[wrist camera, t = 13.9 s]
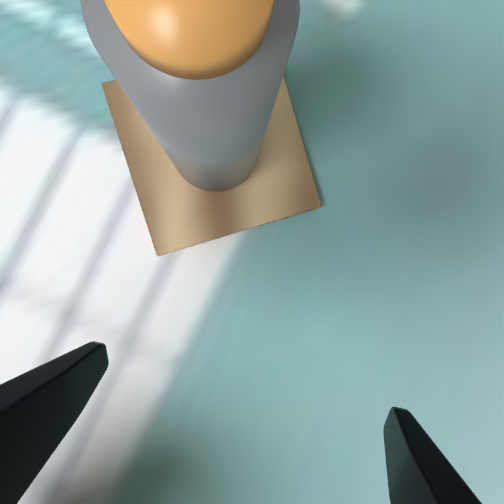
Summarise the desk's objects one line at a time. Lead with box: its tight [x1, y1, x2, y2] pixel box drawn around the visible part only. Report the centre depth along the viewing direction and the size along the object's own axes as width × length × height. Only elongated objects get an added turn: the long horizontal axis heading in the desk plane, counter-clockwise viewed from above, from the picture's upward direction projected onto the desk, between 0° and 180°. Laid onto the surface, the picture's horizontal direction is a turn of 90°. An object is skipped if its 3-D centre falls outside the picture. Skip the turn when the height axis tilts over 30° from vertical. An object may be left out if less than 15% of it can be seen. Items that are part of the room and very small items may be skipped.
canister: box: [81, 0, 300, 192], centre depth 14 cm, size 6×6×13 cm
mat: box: [101, 76, 321, 256], centre depth 20 cm, size 12×12×1 cm
